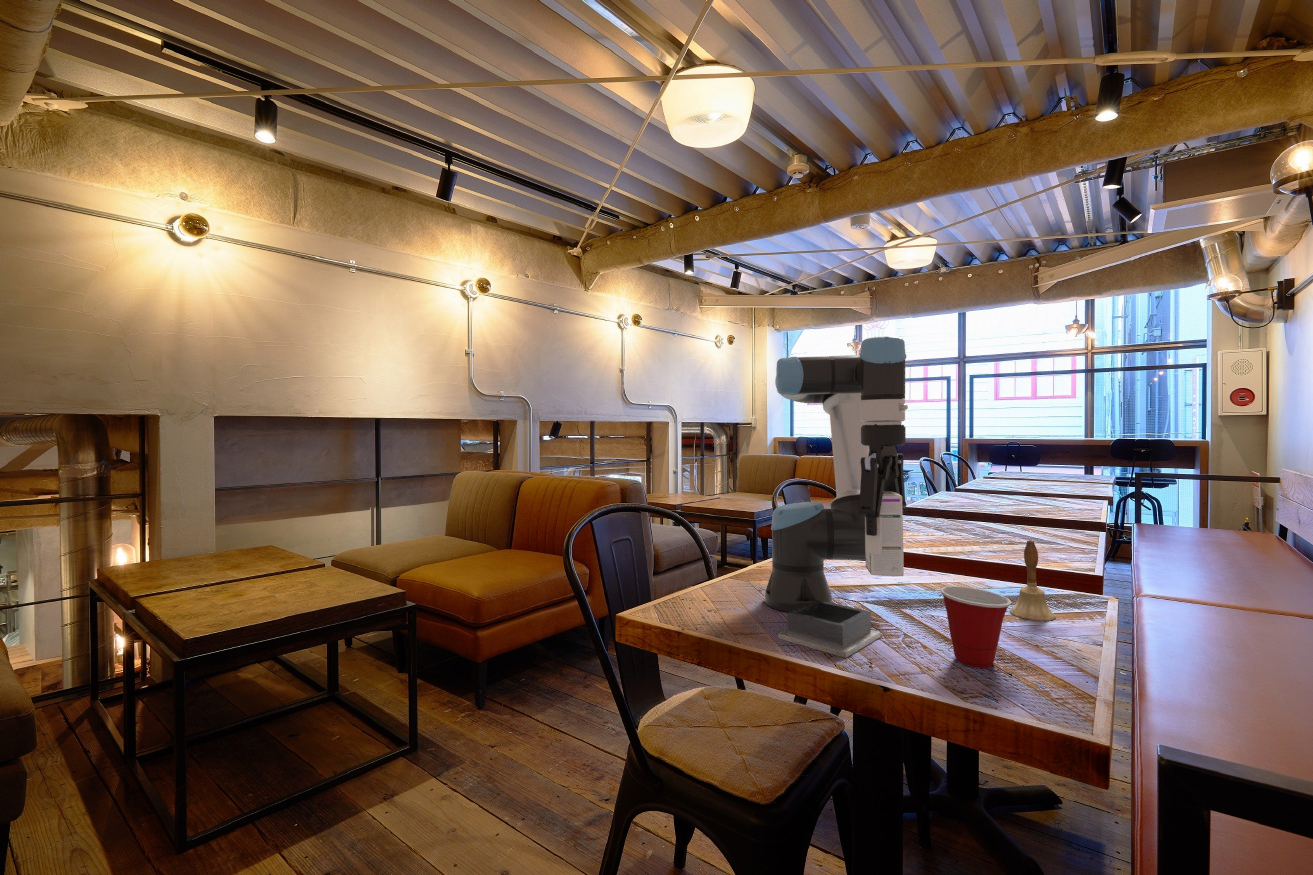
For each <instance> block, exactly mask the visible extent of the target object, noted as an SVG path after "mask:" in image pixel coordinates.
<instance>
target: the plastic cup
mask: <svg viewBox="0 0 1313 875" xmlns="http://www.w3.org/2000/svg"><path fill="white" fill-rule="evenodd" d="M940 593H941V596H942V598H943V602H944V606H945V610H946V617H947V622H948V629H949V633H950V634H949V635H950V640H951V642H952V643H951V644H952V648H953V654H954V658H955V660H956V661H957V662H958V663H959V664H961V665H964V666H965V667H966V666H967V667H971V668H976V669H977V668H978V669H987V668H991V667H992V666H993V665H994V662H995V659H996V652H997V647H998V646H999V641H1000V636H1001V631H1002V627H1003V623H1004V622H1003V620H1004V618H1005V614H1006V612H1007V610H1008V608H1009V607H1010V606H1011V604H1012V601H1011V600H1010V599H1009V598H1008V597H1006V596H1005V595H1001V594H999V593H995V592H993V591H988V590H984V589H979V588H974V587H967V586H959V585H958V586H954V585H949V586H943V587H941V588H940Z"/></svg>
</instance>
